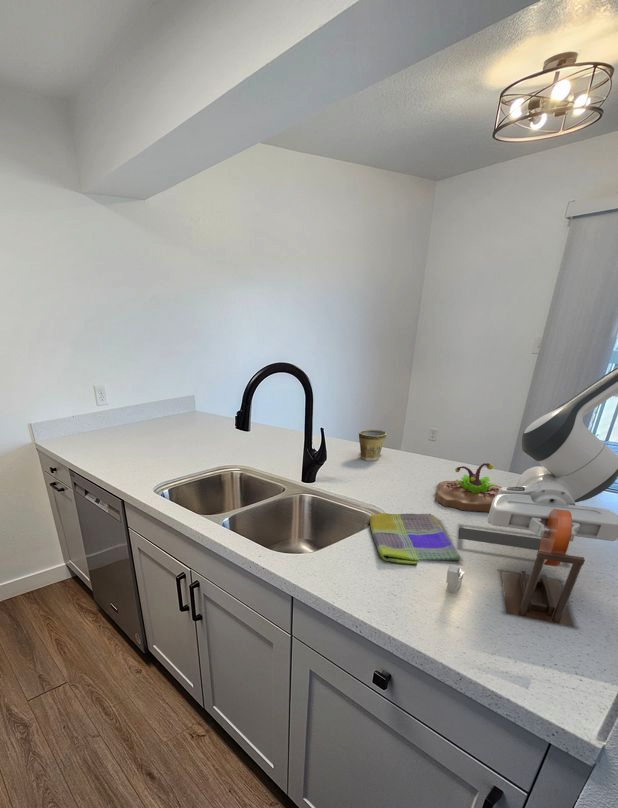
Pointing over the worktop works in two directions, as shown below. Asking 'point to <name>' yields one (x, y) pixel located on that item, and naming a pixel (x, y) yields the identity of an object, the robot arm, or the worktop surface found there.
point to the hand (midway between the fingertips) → (556, 535)
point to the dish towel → (411, 538)
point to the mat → (500, 538)
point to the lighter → (454, 579)
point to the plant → (468, 491)
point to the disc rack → (541, 591)
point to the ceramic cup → (371, 444)
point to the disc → (557, 534)
